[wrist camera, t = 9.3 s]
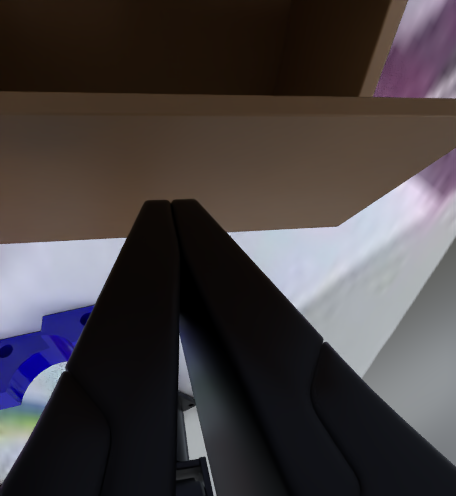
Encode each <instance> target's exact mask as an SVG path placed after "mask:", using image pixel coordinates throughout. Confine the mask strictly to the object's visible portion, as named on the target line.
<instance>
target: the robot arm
mask: <svg viewBox="0 0 456 496" xmlns="http://www.w3.org/2000/svg"><path fill="white" fill-rule="evenodd" d="M179 333H180V338H181V343H182V347H183V352H184V356H185V360H186V365H187V369H188V373H189V378H190V382H191V386H192V391H193V395H194V399H193V398H191V397H189V396H187V395H185V394H183V393H181V392H179V391H178V374H179ZM65 369H66V371H64V372H63V373H62V374H61V376H60V378H59V380H58V382H57V384H56V386H55V388H54V391H53V393H52V395H51V397H50V399H49V401H48V403H47V405H46V407H45V409H44V410H43V412H42V414H41V416H40V418H39V420H38V422H37V424H36V426H35V428H34V430H33V432H32V434H31V436H30V437H29V439H28V441H27V443H26V445H25V446H24V448H23V450H22V451H21V453H20V455H19V456H18V458H17V460H16V461H15V463H14V465H13V467H12V468H11V470H10V472H9V473H8V475H7V477H6V478H5V480H4V482H3V483H2V485H1V487H0V496H213V491H212V486H211V481H210V477H209V472H208V467H207V462H206V457H200V458H199V459H195V460H189V454H188V446H187V438H186V430H185V422H184V414H183V411H186V410H188V409H190V408H192V407H194V406H196V408H197V412H198V417H199V421H200V425H201V430H202V434H203V438H204V443H205V447H206V451H207V456H208V460H209V464H210V469H211V473H212V477H213V482H214V486H215V490H216V495H217V496H456V467H455V466H454V465H453V464H452V463H451V462H450V461H449V460H448V459H447V458H446V457H444V456H443V455H442V454H441V453H440V452H438V450H436V449H435V448H434V447H433V446H432V445H431V444H430V443H429V442H428V441H427V440H426V439H424V438H423V437H422V436H421V435H420V434H419V433H418V432H417V431H416V430H414V429H413V428H412V427H411V426H410V425H409V424H408V423H406V421H405V420H403V419H402V418H401V417H400V416H399V415H398V414H397V413H396V412H395V411H394V410H393V409H392V408H391V407H390V406H389V405H387V403H386V402H384V401H383V400H382V399H381V398H380V397H379V396H378V395H377V394H376V393H375V392H374V391H373V390H372V389H371V388H370V387H369V386H368V385H367V384H366V383H365V382H364V381H363V380H362V379H361V378H360V377H359V376H358V375H357V374H356V372H355V371H354V370H353V369H352V368H351V367H350V366H349V365H348V364H347V363H346V362H345V361H344V360H343V359H342V358H341V357H340V356H339V355H338V353H337V352H336V351H335V350H334V349H333V348H332V347H331V346H330V345H329V344H328V343H327V342H324V343H323V337H322V336H321V335H320V334H319V333H318V332H317V331H316V330H315V329H314V327H313V326H312V325H311V324H310V323H309V322H308V321H307V320H306V319H305V318H304V317H303V315H302V314H301V313H300V312H299V311H298V310H297V309H296V308H295V307H294V306H293V304H292V303H291V302H290V301H289V300H288V299H287V298H286V297H285V296H284V295H283V294H282V292H281V291H280V290H279V289H278V288H277V287H276V286H275V285H274V284H273V283H272V282H271V280H270V279H269V278H268V277H267V276H266V275H265V274H264V273H263V272H262V271H261V270H260V268H259V267H258V266H257V265H256V264H255V263H254V262H253V261H252V260H251V259H250V258H249V256H248V255H247V254H246V253H245V252H244V251H243V250H242V249H241V248H240V247H239V245H238V244H237V243H236V242H235V241H234V240H233V239H232V238H231V237H230V236H229V235H228V233H227V232H226V231H225V230H224V229H223V228H222V227H221V226H220V225H219V224H218V223H217V221H216V220H215V219H214V218H213V217H212V216H211V215H210V214H209V213H208V212H207V211H206V209H205V208H204V207H203V206H202V205H201V204H200V203H199V202H198V201H197V200H195V199H174V200H172V202H171V203H170V202H169V201H168V200H147V201H145V202H144V203H143V205H142V207H141V209H140V211H139V214H138V216H137V218H136V220H135V222H134V224H133V226H132V228H131V230H130V232H129V234H128V237H127V239H126V241H125V243H124V245H123V247H122V249H121V251H120V253H119V255H118V257H117V260H116V262H115V264H114V266H113V268H112V270H111V272H110V274H109V276H108V278H107V280H106V283H105V285H104V287H103V289H102V291H101V293H100V295H99V297H98V299H97V301H96V303H95V306H94V308H93V310H92V312H91V314H90V316H89V318H88V320H87V322H86V324H85V326H84V329H83V331H82V333H81V335H80V337H79V339H78V341H77V343H76V345H75V347H74V349H73V352H72V354H71V356H70V358H69V360H68V362H67V364H66V366H65Z"/></svg>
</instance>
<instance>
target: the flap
mask: <svg viewBox="0 0 456 496" xmlns="http://www.w3.org/2000/svg"><path fill="white" fill-rule="evenodd" d="M455 148H456V99H453V98H391V97H330V96H268V95H206V94H145V93H83V92H22V91H0V244H11V243H30V242H50V241H69V240H88V239H107V238H126V237H128V234H129V232H130V230H131V228H132V226H133V224H134V222H135V220H136V218H137V216H138V214H139V211H140V209H141V207H142V205H143V203H144V202H145V201H147V200H168V201H169V202H170V203H171V202H172V200H174V199H195V200H197V201H198V202H199V203H200V204H201V205H202V206H203V207H204V208H205V209H206V211H207V212H208V213H209V214H210V215H211V216H212V217H213V218H214V219H215V220H216V221H217V223H218V224H219V225H220V226H221V227H222V228H223V229H224V230H225V231H226V232H241V231H260V230H279V229H298V228H317V227H336V226H339V225H340V224H342V223H343V222H345V221H346V220H348V219H349V218H351V217H352V216H354V215H355V214H357V213H358V212H360V211H361V210H363V209H364V208H366V207H367V206H369V205H370V204H372V203H373V202H375V201H376V200H378V199H379V198H381V197H382V196H384V195H385V194H387V193H388V192H390V191H391V190H393V189H394V188H396V187H397V186H399V185H400V184H402V183H403V182H405V181H406V180H408V179H409V178H411V177H413V176H414V175H416V174H417V173H419V172H420V171H422V170H423V169H425V168H426V167H428V166H429V165H431V164H432V163H434V162H435V161H437V160H438V159H440V158H441V157H443V156H444V155H446V154H447V153H449V152H450V151H452V150H453V149H455Z"/></svg>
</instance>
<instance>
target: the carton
mask: <svg viewBox="0 0 456 496" xmlns="http://www.w3.org/2000/svg"><path fill="white" fill-rule="evenodd" d="M407 2H408V0H0V91H22V92H83V93H145V94H206V95H268V96H330V97H373V94H374V92H375V89H376V86H377V84H378V81H379V78H380V75H381V73H382V70H383V67H384V64H385V62H386V59H387V56H388V54H389V51H390V48H391V45H392V43H393V40H394V37H395V35H396V32H397V29H398V26H399V24H400V21H401V18H402V15H403V13H404V10H405V7H406V5H407Z"/></svg>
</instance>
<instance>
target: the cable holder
mask: <svg viewBox="0 0 456 496" xmlns="http://www.w3.org/2000/svg"><path fill="white" fill-rule="evenodd" d="M94 306H95V305H93V306H88V307H84V308H79V309H75V310H70V311H66V312H61V313H57V314H52V315H47V316H43V319H42V327H41V331H39V332H35V333H30V334H26V335H21V336H16V337H12V338H7V339H3V340H0V410H1V409H6V408H10V407H14V406H19V405H21V402H22V398H23V396H24V393H25V391H26V389H27V388H28V386H29V384H30V383H31V382H32V381H33V379H34V378H35V377H36V376H37V375H38V374H40V373H41V372H42V371H43V370H45V369H47V368H48V367H50V366H52V365H54V364H57V363H60V362H66V361H68V360H69V358H70V356H71V354H72V352H73V349H74V347H75V345H76V343H77V341H78V339H79V337H80V335H81V333H82V331H83V329H84V326H85V324H86V322H87V320H88V318H89V316H90V314H91V312H92V310H93V308H94Z"/></svg>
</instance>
